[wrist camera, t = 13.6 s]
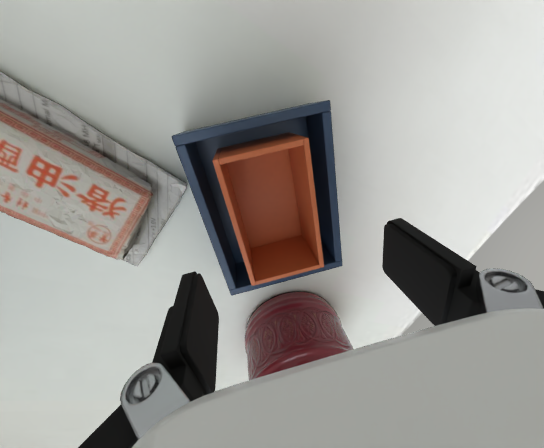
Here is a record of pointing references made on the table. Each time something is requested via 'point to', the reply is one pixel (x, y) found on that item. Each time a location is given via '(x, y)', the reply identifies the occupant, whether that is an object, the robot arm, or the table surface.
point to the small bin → (272, 205)
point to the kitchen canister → (292, 333)
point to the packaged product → (78, 178)
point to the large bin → (207, 192)
